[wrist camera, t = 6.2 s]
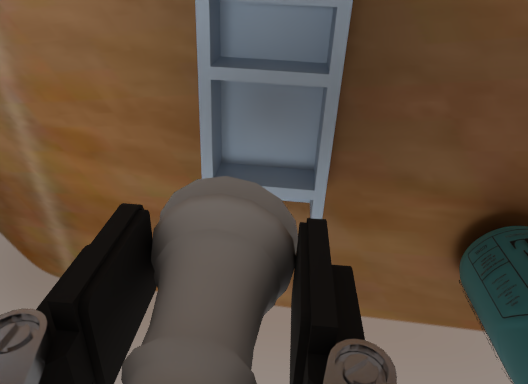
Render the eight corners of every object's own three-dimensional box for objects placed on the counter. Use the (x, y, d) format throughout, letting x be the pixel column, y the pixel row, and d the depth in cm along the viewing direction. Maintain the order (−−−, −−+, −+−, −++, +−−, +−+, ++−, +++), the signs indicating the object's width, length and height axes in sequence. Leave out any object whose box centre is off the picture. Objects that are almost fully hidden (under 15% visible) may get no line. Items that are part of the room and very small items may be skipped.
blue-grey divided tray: (369, -174, 17) (434, -324, 8) (320, 188, 26) (328, 297, 17) (210, -179, 17) (115, -327, 9) (216, 179, 26) (172, 281, 18)
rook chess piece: (231, 301, 14) (169, 611, 7) (135, 224, 13) (-53, 516, 6) (328, 236, 13) (364, 562, 6) (228, 139, 11) (115, 411, 4)
